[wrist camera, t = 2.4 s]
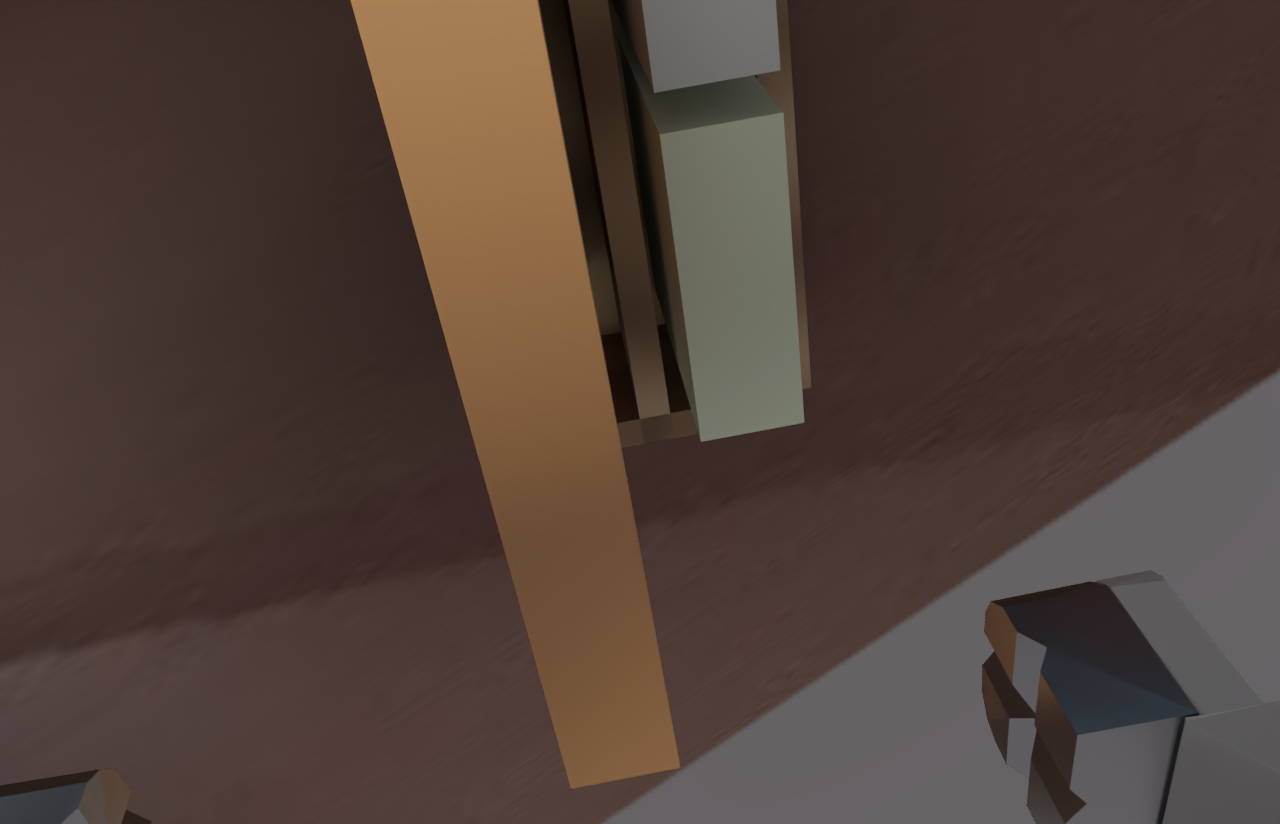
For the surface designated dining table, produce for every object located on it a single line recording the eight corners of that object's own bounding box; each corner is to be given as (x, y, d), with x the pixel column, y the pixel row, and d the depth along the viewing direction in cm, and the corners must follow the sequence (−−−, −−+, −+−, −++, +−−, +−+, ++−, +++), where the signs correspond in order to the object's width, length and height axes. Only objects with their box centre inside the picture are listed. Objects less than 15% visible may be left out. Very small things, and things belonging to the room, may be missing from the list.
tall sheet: (587, 262, 37) (680, 767, 19) (531, 272, 37) (571, 788, 19) (488, -268, 29) (483, -288, 10) (416, -256, 29) (279, -254, 10)
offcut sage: (736, 274, 38) (804, 422, 30) (655, 288, 38) (700, 441, 30) (710, 19, 33) (783, 112, 25) (617, 36, 33) (659, 134, 25)
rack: (772, 308, 41) (823, 410, 35) (506, 357, 41) (509, 469, 34) (706, -488, 28) (769, -555, 22) (315, -423, 28) (263, -472, 21)
